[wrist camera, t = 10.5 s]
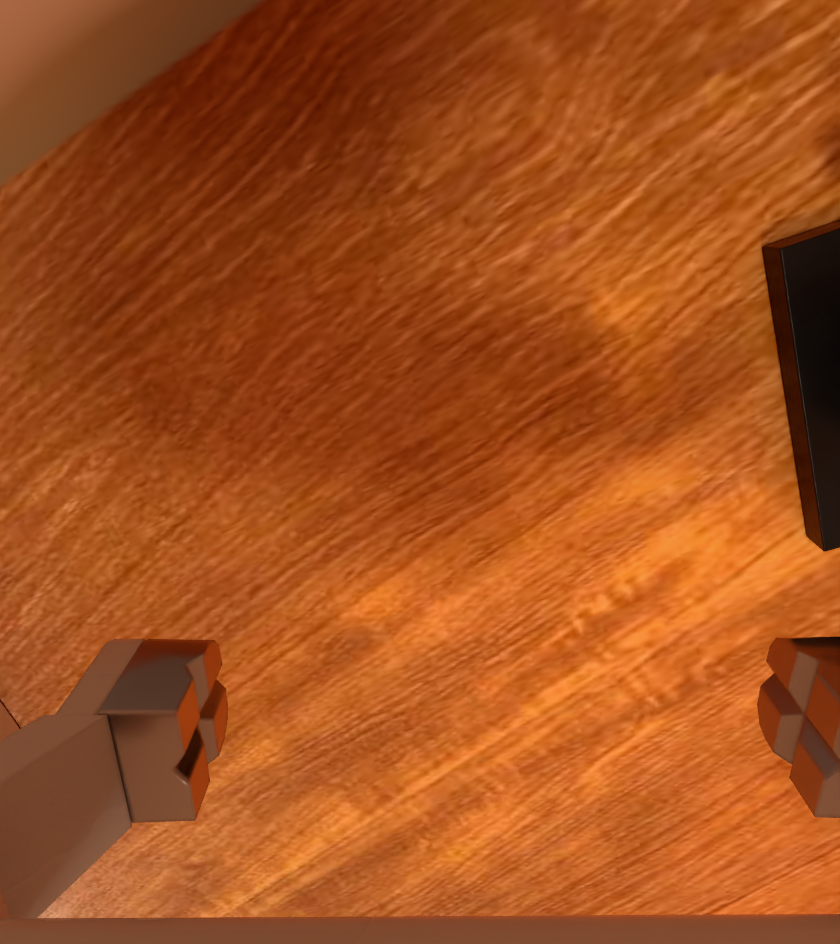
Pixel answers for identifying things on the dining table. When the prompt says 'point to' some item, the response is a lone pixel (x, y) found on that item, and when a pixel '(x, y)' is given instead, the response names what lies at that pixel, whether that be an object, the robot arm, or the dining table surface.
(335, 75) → the dining table surface
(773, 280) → the bracket
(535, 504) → the dining table surface
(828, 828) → the dining table surface
